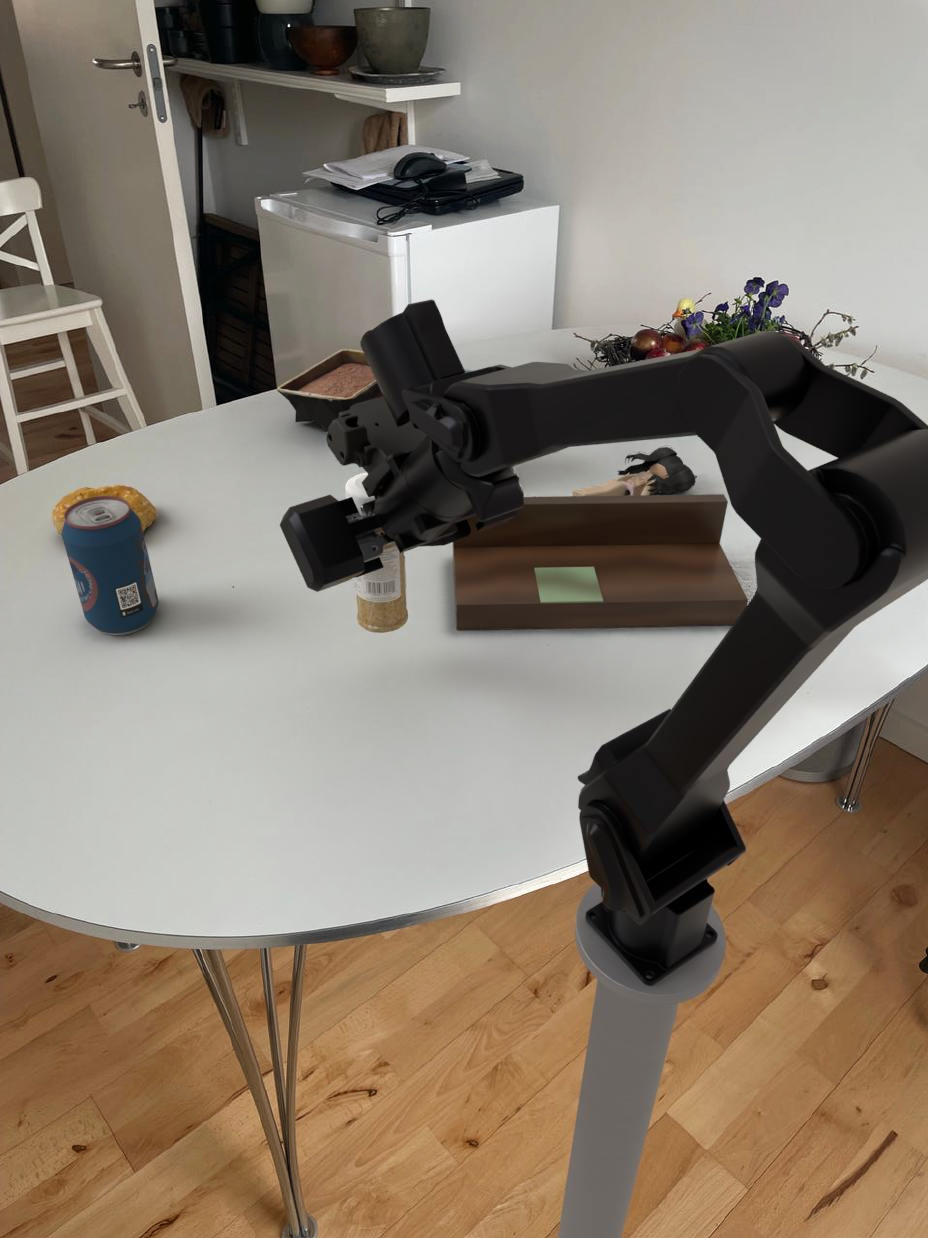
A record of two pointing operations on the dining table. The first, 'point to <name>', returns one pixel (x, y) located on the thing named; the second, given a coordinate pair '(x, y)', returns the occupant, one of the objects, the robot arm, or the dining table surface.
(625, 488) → the toy figure
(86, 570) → the soda can
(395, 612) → the sprinkles bottle
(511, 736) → the dining table surface
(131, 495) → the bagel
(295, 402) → the baking dish
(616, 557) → the shelf
